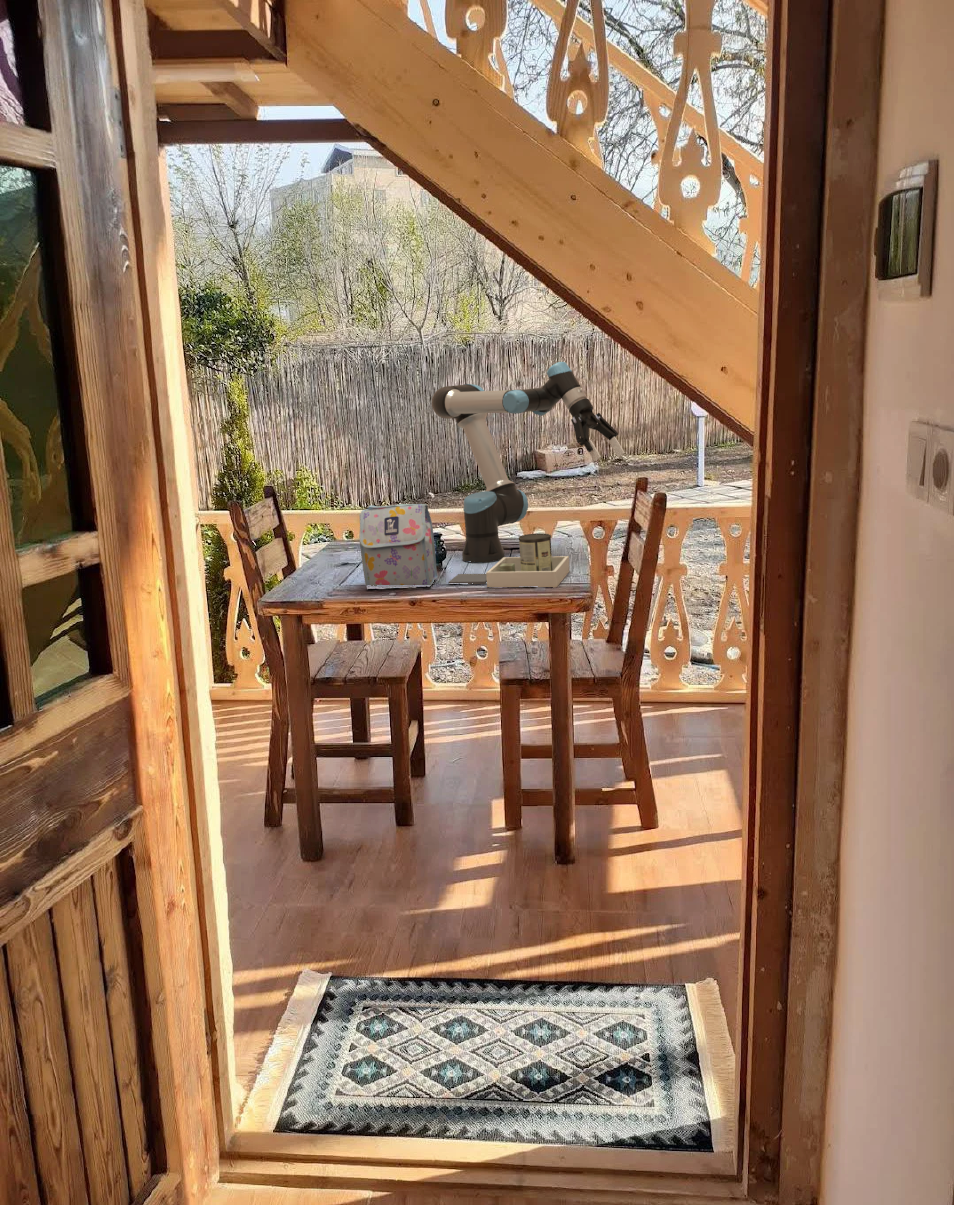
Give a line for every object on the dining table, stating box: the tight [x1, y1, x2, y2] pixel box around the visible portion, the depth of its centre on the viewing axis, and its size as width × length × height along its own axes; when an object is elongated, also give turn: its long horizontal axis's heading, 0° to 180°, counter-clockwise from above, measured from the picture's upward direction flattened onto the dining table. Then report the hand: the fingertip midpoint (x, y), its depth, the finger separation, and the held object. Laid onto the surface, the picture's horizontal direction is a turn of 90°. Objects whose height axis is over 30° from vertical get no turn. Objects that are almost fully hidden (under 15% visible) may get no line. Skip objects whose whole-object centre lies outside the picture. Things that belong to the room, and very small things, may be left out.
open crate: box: [485, 555, 570, 589], centre depth 331 cm, size 22×24×5 cm
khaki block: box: [500, 563, 515, 572], centre depth 333 cm, size 4×4×5 cm
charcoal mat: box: [448, 573, 487, 585], centre depth 336 cm, size 12×12×1 cm
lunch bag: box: [358, 503, 439, 586], centre depth 332 cm, size 22×17×26 cm
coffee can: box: [518, 532, 553, 571], centre depth 329 cm, size 10×10×14 cm
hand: (609, 457), depth 339 cm, fingers open, 13 cm apart
